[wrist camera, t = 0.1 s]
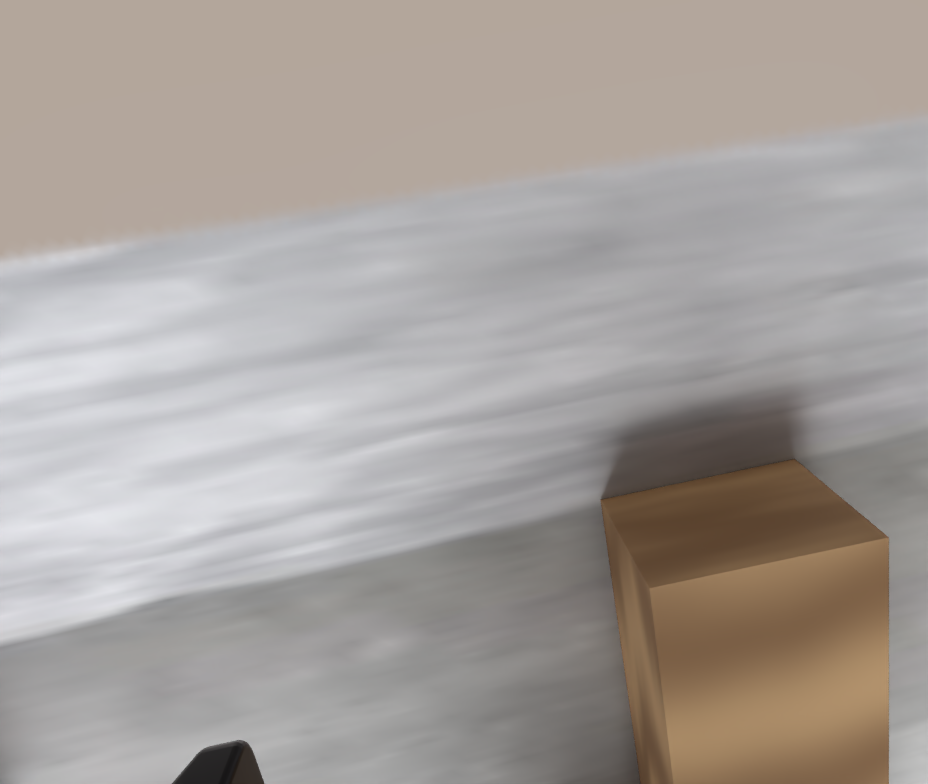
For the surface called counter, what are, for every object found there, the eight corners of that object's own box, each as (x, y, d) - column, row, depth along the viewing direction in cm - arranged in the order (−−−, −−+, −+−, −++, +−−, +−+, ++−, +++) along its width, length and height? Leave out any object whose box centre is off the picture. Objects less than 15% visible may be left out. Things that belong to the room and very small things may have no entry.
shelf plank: (808, 839, 29) (888, 977, 24) (651, 873, 29) (702, 1018, 24) (790, 455, 24) (888, 537, 19) (597, 495, 24) (649, 587, 19)
